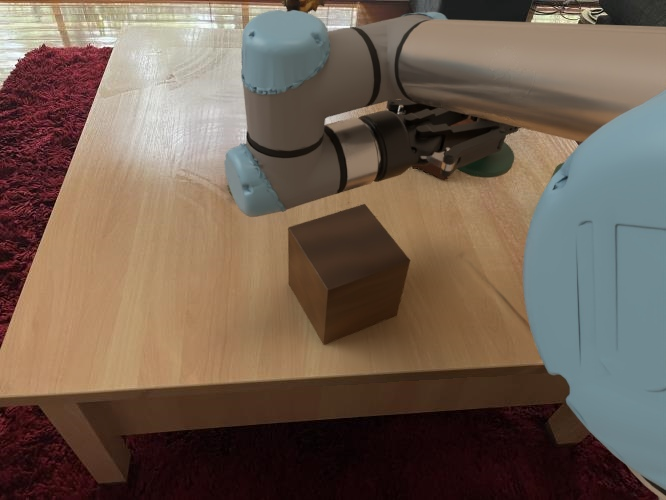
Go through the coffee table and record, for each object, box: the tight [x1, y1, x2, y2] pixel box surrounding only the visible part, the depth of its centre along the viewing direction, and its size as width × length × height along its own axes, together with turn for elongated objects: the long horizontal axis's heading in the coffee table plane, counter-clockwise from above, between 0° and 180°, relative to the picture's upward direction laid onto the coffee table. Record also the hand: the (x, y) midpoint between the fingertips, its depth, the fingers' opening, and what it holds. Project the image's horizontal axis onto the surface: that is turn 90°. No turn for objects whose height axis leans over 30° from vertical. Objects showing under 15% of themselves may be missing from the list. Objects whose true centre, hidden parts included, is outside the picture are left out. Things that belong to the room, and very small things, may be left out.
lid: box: [456, 117, 515, 179], centre depth 66 cm, size 9×9×10 cm
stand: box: [287, 203, 411, 345], centre depth 74 cm, size 12×12×12 cm
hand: (523, 107), depth 67 cm, fingers closed on lid, 3 cm apart
